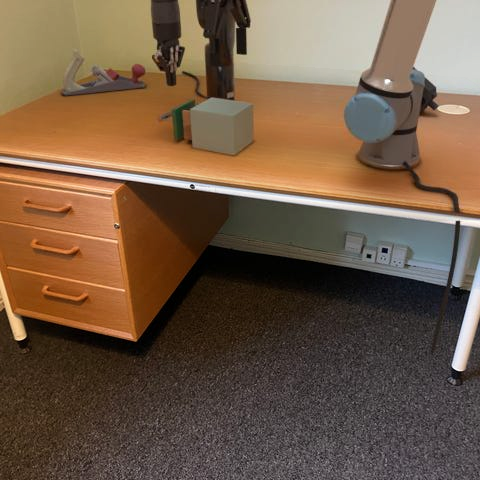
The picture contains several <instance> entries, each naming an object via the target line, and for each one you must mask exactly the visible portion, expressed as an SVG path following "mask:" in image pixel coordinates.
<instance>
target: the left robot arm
mask: <svg viewBox="0 0 480 480" xmlns="http://www.w3.org/2000/svg"><path fill="white" fill-rule="evenodd" d="M207 8H208V0H195V9H196V10H195V11H196V18H197V22H198V25H199V26H200V28H201V29H203V30H204V26H205V20H206V14H207ZM150 17H151V18H150V19H151V28H152V37H153V39H154V40H155V41H156V52H155V54H152V55H151V59H152V61H153V62H154V64H155V65H156V67H157V68H158V70H159V71H160V72H164V73H165V81H166V85H167V86H168V87H174V86H176V85H177V70H178V68H180V67H181V65H182V62H183V59H184V54H185V51H186V48H185V46H181V44H180V40H179V39H181V38H182V23H181V9H180V4H179V0H150ZM218 38H220V39H221V61H222V66H221V67H217V66H211V62H210V46H209V42H207V43H206V44H205V45H204V48H203V49H204V65H205V84H206V86H205V87H206V95H205V96H204V95H203V94H202V93H201V92H200V91H198V90H199V85H200V80H199V78H198V77H197V76H196V75H194V74H193V73H190V72H187V71H184V70H182V71H181V73H182V74H184V75H187V76H190V77H193V78H194V79H195V80H196V86H195V89H194V90H195V93H196V94H197V95H198V96H199V97H201V98H204V99H206V100H208V99H210V98H219V99H226V100H233V101H236V99H235V98H236V97H235V94H236V93H235V90H236V89H235V57H234V56H235V55H234V52H235V51H234V50H235V49H234V48H235V44H236V22H235V20H234V17H233V15H232V13H231V11H230V10H229V11H228V13H227V14H225V17H224V20H223V24H222V27H221V30H220V33H219V37H218Z"/></svg>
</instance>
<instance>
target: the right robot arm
mask: <svg viewBox="0 0 480 480" xmlns="http://www.w3.org/2000/svg"><path fill="white" fill-rule="evenodd" d="M436 2H437V0H390V1H389V4H388V8H387V12H386V14H385V18H384V21H383V25H382V27H381V31H380V35H379V38H378V42H377V45H376V48H375V51H374V55H373V58H372V62H371V63H370V67H369V68H368V69H366V70H364V71H362V72H361V75H360V77H359V81H358V84H357V87H356V91H355V93H354V96H352V97H350V99H349V101H348V102H347V104H345V108H344V112H343V120H344V124H345V126H346V128H347V130H348V131H349V133H350V134H351V135H352V137H354V138H355V139H357V140H358V141H360V142H362V143H361V145H360V147H359V151H358V159H359V160H360V162H362V163H363V164H364V165H367V166H369V167H372V168H374V169H378V170H385V171H403V170H407V171H408V172H409V173H410V174H411V176H412V177H413V178H414V185H415V186H416V187H417V188H419V189H421V190H425V191H430V192H441V193H444V194H447V195H448V196H450V197H452V200H453V201H452V202H453V208H454V213H457V214H458V213H459V214H460V212H461V210H460V206H459V205H460V204H459V197H458V196H459V195H457V193H456V192H454V191H453V190H450V189H448V188H445V187H439V186H429V185H424V184H422V183H420V177H419V175H418V173H417V172H416V171H415V170H414V169H413V168H414V167H416V166H418V164H419V163H420V158H421V156H420V155H421V153H420V151H421V150H420V146H419V140H418V135H417V130H418V124H419V119H420V113H421V112H420V107H421V101H422V95H423V89H424V87H425V84H424V81H425V78H426V76H425V74H424V73H423V72H422V71H421V70H418V69H417V70H414V69H413V67H415V63H416V60H417V57H418V54H419V51H420V49H421V46H422V43H423V40H424V37H425V34H426V31H427V29H428V26H429V23H430V20H431V18H432V15H433V12H434V9H435V6H436V4H437V3H436ZM229 10H230V11H231V13H232V15H233V17H234V20H235V25H236V26H237V27H235V44H236V45H235V47H236V48H235V49H236V55H240V56H241V55H243V56H246V55H248V50H247V49H248V44H247V43H248V42H247V29H250V28H251V22H252V19H251V16H250V15H251V14H250V11H249V8H248V3H247V0H208V8H207V14H206V20H205V26H204V29H203V33H202V36H203V37H204V38H205V39H208V43H209V46H210V62H211V66H217V67H221V66H222V61H221V39H220V38H218V37H219V33H220V30H221V27H222V24H223V20H224V17H225V14H227V13H228V11H229ZM454 223H455V226H454V237H453V238H454V239H453V246H452V253H451V261H450V266H449V271H448V277H447V281H446V285H445V290H444V295H443V298H442V302H441V306H440V310H439V313H438V318H437V322H436V325H435V329H434V334H433V339H432V343H431V348H430V354H432V355H434V354H435V352H436V349H437V344H438V340H439V339H438V338H439V335H440V331H441V327H442V322H443V319H444V315H445V311H446V307H447V304H448V299H449V295H450V292H451V287H452V283H453V279H454V273H455V268H456V264H457V257H458V250H459V242H460V233H461V220H455V221H454Z"/></svg>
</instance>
